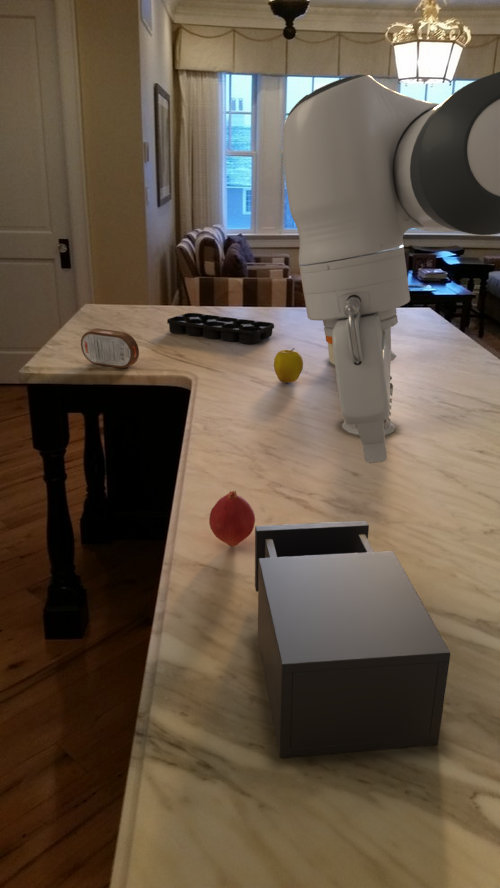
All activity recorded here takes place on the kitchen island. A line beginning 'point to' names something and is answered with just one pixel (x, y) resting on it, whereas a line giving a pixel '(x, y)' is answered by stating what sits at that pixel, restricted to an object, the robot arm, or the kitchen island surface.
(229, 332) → the egg carton
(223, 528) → the onion
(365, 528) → the dark grey open drawer
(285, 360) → the apple
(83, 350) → the tin
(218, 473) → the kitchen island surface
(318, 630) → the dark drawer box
